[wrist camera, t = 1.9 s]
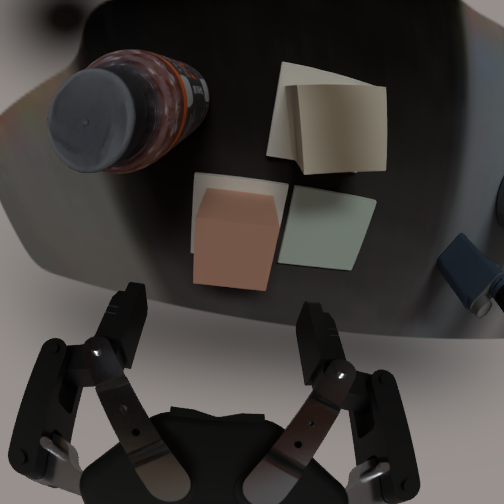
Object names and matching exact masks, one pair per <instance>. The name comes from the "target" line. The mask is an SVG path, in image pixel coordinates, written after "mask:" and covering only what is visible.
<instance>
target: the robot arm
mask: <svg viewBox="0 0 504 504" xmlns="http://www.w3.org/2000/svg"><path fill="white" fill-rule="evenodd" d="M497 217H498V221H499V223H500V225H501V226H502V227H503V228H504V179H503V182H502V184H501V187H500V191H499V194H498V200H497ZM147 309H148V306H147V298H146V290H145V285H144V284H141V283H134V282H130V283H129V284H128V286H127V288H126V290H125V291H118V292H117V293H116V294H115V295H114V296H113V297H112V299H111V301H110V303H109V306H108V307H107V310H106V313H105V314H104V316H103V318H102V321H101V323H100V325H99V327H98V330H97V332H96V334H95V336H94V337H91V338H89V339H88V340H86V341H85V343H84V344H82V345H69V346H66V344H65V342H64V341H63V340H61V339H58V338H52V339H49V340H48V341H46V342H45V343H44V344H43V346H42V348H41V351H40V353H39V355H38V358H37V360H36V363H35V365H34V368H33V370H32V373H31V376H30V379H29V381H28V384H27V387H26V390H25V393H24V396H23V399H22V402H21V405H20V408H19V412H18V415H17V419H16V422H15V426H14V430H13V434H12V438H11V442H10V447H9V451H8V458H9V462H10V464H11V466H12V467H13V469H14V470H15V471H17V472H18V473H20V474H22V475H25V476H26V477H27V478H29V479H31V480H33V481H36V482H38V483H40V484H43V485H47V486H49V487H52V488H61V489H64V490H66V491H69V492H72V493H75V494H78V495H81V496H82V499H83V501H84V504H398V503H401V502H405V501H408V500H411V499H412V498H414V497H415V496H416V495H417V493H418V491H419V489H420V478H419V473H418V468H417V463H416V458H415V453H414V448H413V444H412V439H411V435H410V431H409V427H408V423H407V419H406V415H405V411H404V408H403V404H402V400H401V397H400V393H399V390H398V386H397V383H396V380H395V378H394V376H393V375H392V374H391V373H390V372H388V371H386V370H377V371H375V372H374V373H373V374H372V375H371V374H367V373H363V372H359V371H356V369H355V367H354V366H353V365H352V364H351V363H350V362H348V361H346V358H345V354H344V351H343V348H342V344H341V341H340V338H339V336H338V335H339V334H338V331H337V328H336V325H335V321H334V319H333V318H332V317H331V316H330V314H329V313H323V310H322V307H321V304H320V303H319V302H307V301H305V302H304V304H303V307H302V309H301V312H300V315H299V317H298V320H297V323H296V336H297V342H298V348H299V353H300V359H301V365H302V371H303V377H304V383H305V385H312V388H313V391H312V392H311V394H310V395H309V397H308V398H307V400H306V401H305V403H304V404H303V405H302V407H301V408H300V410H299V411H298V413H297V414H296V415H295V417H294V418H293V420H292V421H291V422H290V424H289V425H288V426H287V428H286V429H283V428H282V427H281V426H279V425H277V424H275V423H273V422H270V421H268V420H265V416H264V414H244V413H243V414H242V413H241V414H235V415H229V416H223V417H215V416H211V415H208V414H206V413H203V412H200V411H197V410H194V409H185V408H178V407H172V406H171V409H170V412H165V413H160V414H157V415H154V416H152V417H150V418H149V417H148V415H147V414H146V412H145V410H144V408H143V407H142V405H141V403H140V401H139V399H138V398H137V396H136V394H135V392H134V390H133V388H132V386H131V384H130V383H129V381H128V379H127V377H126V376H125V374H124V372H123V370H124V368H129V369H131V367H132V363H133V360H134V356H135V353H136V349H137V346H138V343H139V339H140V336H141V333H142V329H143V326H144V323H145V320H146V317H147ZM91 386H95V387H96V388H95V389H96V392H97V395H98V397H99V399H100V402H101V404H102V406H103V408H104V411H105V413H106V415H107V417H108V419H109V421H110V423H111V425H112V427H113V429H114V431H115V433H116V435H117V437H118V439H119V441H120V442H119V443H118V444H116V445H115V446H114V447H112V448H111V449H110V450H109V451H107V452H106V453H105V454H103V455H102V456H101V457H99V458H98V459H97V460H95V461H94V462H93V463H92V464H90V465H89V466H88V467H87V468H86V469H85V470H84V471H82V470H81V468H80V466H79V462H78V453H77V451H76V449H75V448H74V447H73V446H72V445H71V444H70V443H71V437H72V432H73V427H74V422H75V418H76V414H77V409H78V405H79V401H80V397H81V393H82V389H83V387H91ZM341 409H344V410H348V411H349V417H350V423H351V429H352V436H353V443H354V450H355V458H356V467H355V468H354V469H352V471H351V472H350V474H349V482H348V485H347V487H346V488H344V487H343V486H342V485H341V484H340V483H339V482H338V481H337V480H336V479H335V478H334V477H333V476H332V475H331V474H330V473H328V472H327V471H326V470H325V469H324V468H323V467H322V466H321V465H320V464H319V463H318V462H317V461H316V460H315V459H314V458H313V456H314V454H315V452H316V451H317V449H318V448H319V446H320V444H321V443H322V441H323V440H324V438H325V437H326V435H327V433H328V431H329V430H330V428H331V426H332V425H333V423H334V421H335V420H336V418H337V416H338V414H339V412H340V410H341Z"/></svg>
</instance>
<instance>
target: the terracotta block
mask: <svg viewBox="0 0 504 504" xmlns="http://www.w3.org/2000/svg"><path fill="white" fill-rule="evenodd" d="M279 229H280V226H279V221H278V216H277V211H276V206H275V202H274V197H273V196H271V195H264V194H256V193H248V192H240V191H232V190H223V189H214V188H206V191H205V194H204V196H203V199H202V201H201V204H200V207H199V209H198V212H197V215H196V218H195V240H194V272H193V283H197V284H205V285H214V286H223V287H232V288H242V289H251V290H261V291H266V287H267V283H268V278H269V274H270V269H271V265H272V261H273V256H274V252H275V247H276V243H277V238H278V233H279Z"/></svg>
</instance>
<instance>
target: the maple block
mask: <svg viewBox="0 0 504 504" xmlns="http://www.w3.org/2000/svg"><path fill="white" fill-rule="evenodd" d="M285 91H286V100H287V110H288V120H289V131H290V142H291V154H292V155H293V157H294V159H295V160H296V162H297V164H298V165H299V167H300V169H301V170H302V172H303V174H304V175H308V174H322V173H338V172H358V171H386V156H387V101H386V87H379V86H365V85H338V84H316V85H290V86H285Z"/></svg>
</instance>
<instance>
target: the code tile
mask: <svg viewBox="0 0 504 504" xmlns="http://www.w3.org/2000/svg"><path fill="white" fill-rule="evenodd" d="M288 187H289V185H288V184H287V183H281V182H274V181H267V180H260V179H252V178H245V177H236V176H228V175H219V174H209V173H199V172H195V174H194V189H193V207H192V229H191V253H194V240H195V218H196V215H197V212H198V209H199V207H200V204H201V201H202V199H203V196H204V194H205V191H206V188H214V189H223V190H232V191H240V192H248V193H256V194H264V195H271V196H273V197H274V202H275V206H276V211H277V216H278V221H279V226H280V225H281V220H282V215H283V211H284V206H285V201H286V196H287V192H288ZM278 234H279V233H278Z"/></svg>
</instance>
